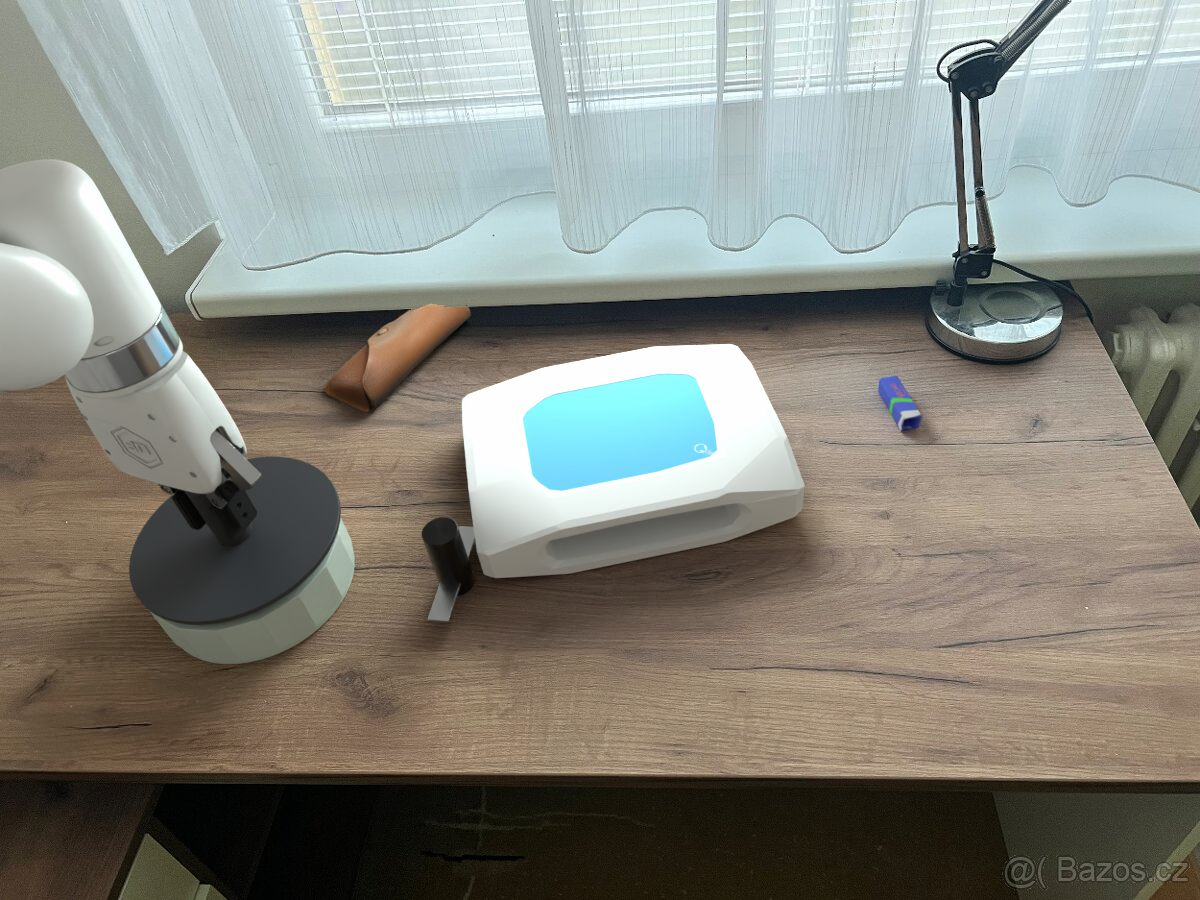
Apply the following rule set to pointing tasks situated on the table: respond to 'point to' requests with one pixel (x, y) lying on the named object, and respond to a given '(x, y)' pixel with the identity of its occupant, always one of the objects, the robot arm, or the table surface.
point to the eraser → (899, 403)
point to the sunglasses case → (393, 355)
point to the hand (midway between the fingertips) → (224, 520)
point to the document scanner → (624, 460)
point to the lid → (237, 548)
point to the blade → (449, 563)
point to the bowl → (274, 615)
